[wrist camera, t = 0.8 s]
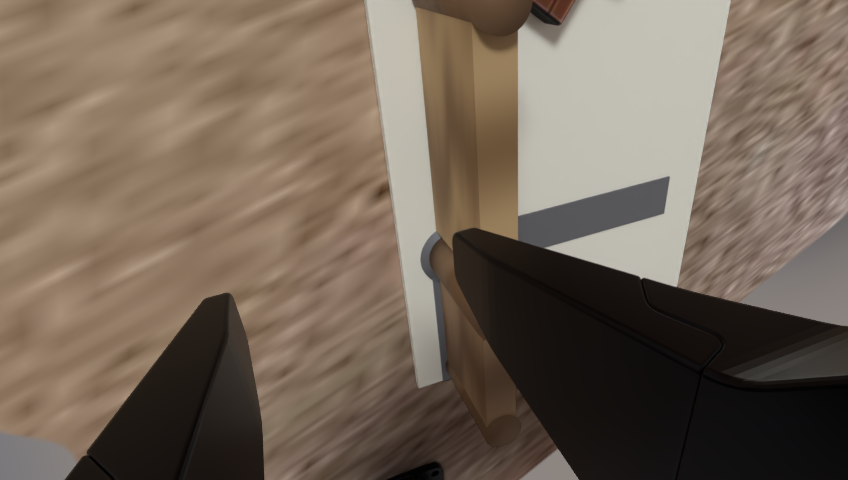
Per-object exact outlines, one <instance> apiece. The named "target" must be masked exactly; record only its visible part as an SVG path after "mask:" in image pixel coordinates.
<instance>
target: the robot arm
mask: <svg viewBox="0 0 848 480" xmlns="http://www.w3.org/2000/svg"><path fill="white" fill-rule="evenodd" d="M452 247H453V260H454V272H455V277H456V280H457V283H458V285H459V287H460V289H461V291H462V293H463V295H464V297H465V299H466V301H467V303H468V305H469V307H470V309H471V311H472V313H473V315H474V317H475V319H476V321H477V323H478V325H479V327H480V329H481V331H482V333H483V334H484V336H485V338H486V340H487V342H488V344H489V346H490V348H491V349H492V351H493V352H494V354H495V355H496V357H497V359H498V360H499V362H500V363H501V365H502V366H503V367H504V369H505V370H506V372H507V373H508V375H509V376H510V378H511V379H512V381H513V382H514V384H515V385H516V387H517V388H518V390H519V391H520V393H521V394H522V396H523V397H524V399H525V400H526V402H527V403H528V405H529V406H530V408H531V409H532V410H533V412H534V413H535V415H536V416H537V418H538V419H539V421H540V422H541V424H542V425H543V427H544V428H545V430H546V431H547V433H548V434H549V436H550V437H551V439H552V440H553V442H554V443H555V445H556V446H557V448H558V449H559V451H560V452H561V453H562V455H563V456H564V458H565V459H566V461H567V462H568V464H569V465H570V467H571V468H572V470H573V471H574V473H575V474H576V476H577V477H578V479H579V480H848V326H840V325H835V324H829V323H825V322H820V321H816V320H811V319H807V318H803V317H798V316H794V315H790V314H785V313H781V312H777V311H772V310H768V309H764V308H759V307H755V306H751V305H746V304H742V303H738V302H733V301H729V300H725V299H721V298H717V297H713V296H709V295H705V294H701V293H696V292H693V291H689V290H686V289H682V288H678V287H675V286H671V285H668V284H664V283H661V282H657V281H654V280H651V279H648V278H642V279H641V278H640V277H639V276H637V275H634V274H630V273H627V272H624V271H620V270H617V269H613V268H610V267H607V266H603V265H600V264H597V263H593V262H590V261H586V260H583V259H580V258H576V257H573V256H569V255H566V254H563V253H559V252H556V251H553V250H549V249H546V248H542V247H539V246H536V245H532V244H529V243H526V242H522V241H519V240H515V239H512V238H509V237H505V236H502V235H499V234H495V233H492V232H488V231H485V230H482V229H478V228H469V229H465V230H461V231H457V232H455V233H454V235H453V237H452ZM65 480H264V458H263V433H262V420H261V413H260V407H259V401H258V395H257V390H256V384H255V379H254V373H253V367H252V362H251V356H250V351H249V345H248V340H247V336H246V333H245V330H244V327H243V324H242V321H241V318H240V315H239V312H238V310H237V307H236V304H235V301H234V298H233V296H232V295H231V294H230V293H223V294H220V295H216V296H212V297H208V298H206V299H204V300H203V301H202V302H201V304H200V305H199V306H198V308H197V309H196V310H195V311H194V313H193V314H192V315H191V317H190V318H189V319H188V320H187V322H186V323H185V324H184V326H183V327H182V328H181V330H180V331H179V332H178V333H177V335H176V336H175V337H174V339H173V340H172V341H171V343H170V344H169V345H168V346H167V348H166V349H165V350H164V352H163V353H162V354H161V356H160V357H159V358H158V359H157V361H156V362H155V363H154V365H153V366H152V367H151V369H150V370H149V371H148V372H147V374H146V375H145V376H144V378H143V379H142V380H141V382H140V383H139V384H138V385H137V387H136V388H135V389H134V391H133V392H132V393H131V395H130V396H129V397H128V398H127V400H126V401H125V402H124V404H123V405H122V406H121V408H120V409H119V410H118V411H117V413H116V414H115V415H114V417H113V418H112V419H111V420H110V422H109V423H108V424H107V426H106V427H105V428H104V430H103V431H102V432H101V433H100V435H99V436H98V437H97V439H96V440H95V441H94V443H93V444H92V445H91V446H90V448H89V449H88V450H87V455H85V456H83V457H82V458H81V459H80V460H79V462H78V463H77V464H76V466H75V467H74V468H73V470H72V471H71V472H70V473H69V475H68V476H67V477H66V479H65ZM389 480H444V478H443V470H442V468H441V466H440V464H439V463H436V462H435V463H431V464H429V465H426V466H423V467H421V468H418V469H415V470H413V471H410V472H407V473H405V474H402V475H399V476H397V477H394V478H391V479H389Z"/></svg>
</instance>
